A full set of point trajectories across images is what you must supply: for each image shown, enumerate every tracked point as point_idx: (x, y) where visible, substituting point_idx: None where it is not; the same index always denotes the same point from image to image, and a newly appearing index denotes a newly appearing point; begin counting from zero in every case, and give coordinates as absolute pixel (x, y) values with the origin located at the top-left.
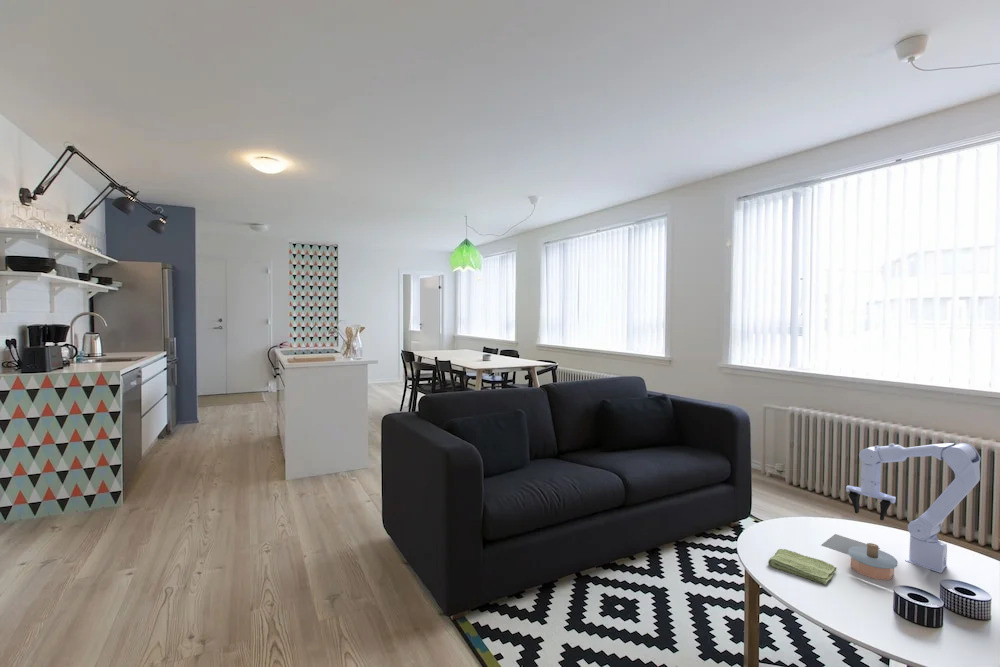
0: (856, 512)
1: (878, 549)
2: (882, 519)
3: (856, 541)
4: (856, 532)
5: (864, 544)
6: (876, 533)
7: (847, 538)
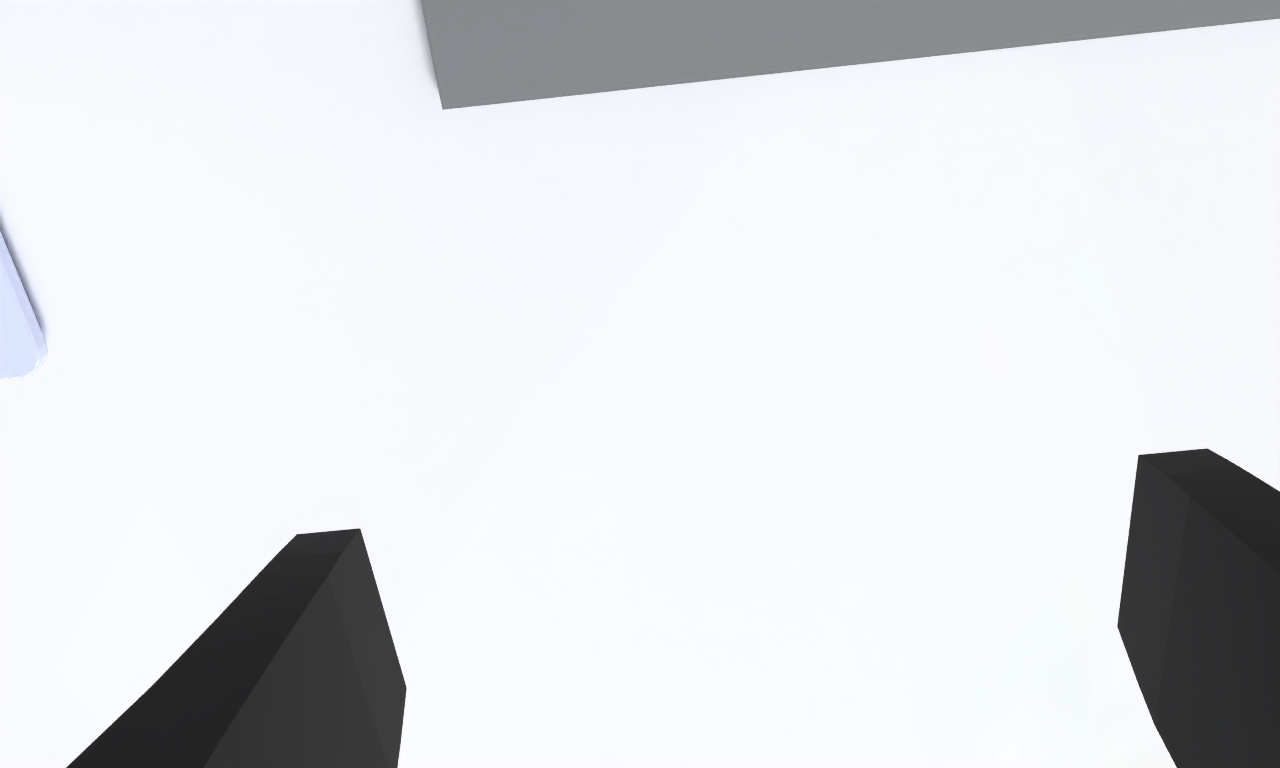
0: (1176, 463)
1: (425, 14)
2: (275, 564)
3: (869, 15)
4: (1010, 485)
5: (701, 6)
6: (770, 690)
7: (1056, 5)
